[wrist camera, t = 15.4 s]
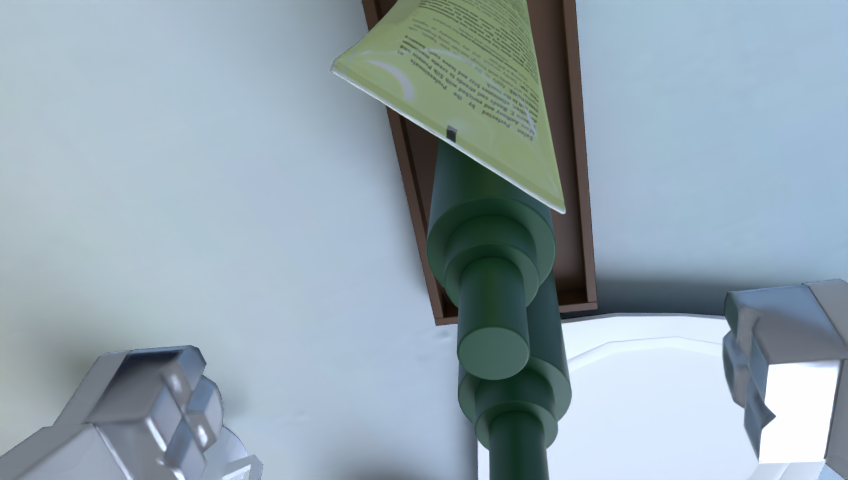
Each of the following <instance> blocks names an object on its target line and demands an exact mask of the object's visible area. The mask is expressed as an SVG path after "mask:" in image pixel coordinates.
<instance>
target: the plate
mask: <svg viewBox="0 0 848 480" xmlns="http://www.w3.org/2000/svg"><path fill="white" fill-rule="evenodd" d="M561 325H562V331H563V338H564V344H565V351H566V357H567V364H568V370H569V377H570V383H571V390H572V399H571V403H570V406H569V409H568V410H567V412H566V414H565V415H564V416H563V417H562V418H561V419H560V420H559V421H558V434H557V437H556V439H555V441H554V442H553V444H552V445H551V446H550V447H549V448H548V449H546V451H547V461H548V471H549V480H817V478H818V476H819V474H820V472H821V470H822V468H823V466H824V464H825V462H826V461H808V462H781V463H759V462H758V460H757V457H756V455H755V453H754V450H753V448H752V445H751V443H750V441H749V438H748V436H747V433H746V431H745V429H744V426H743V423H744V408H742V407H741V406H739V405H738V404H736V403H735V402H733V399H732V397H731V394H730V391H729V389H728V385H727V382H726V378H725V375H724V367H723V359H722V341H723V337H724V336H725V335H726V334H727V333H728V332H729V331H730V330H731V329H730V327H729V325H728V323H727V320H726V318H725V316H714V315H701V314H687V313H610V314H603V315H595V316H587V317H579V318H572V319H564V320H561ZM478 480H489V450H487V449H486V448H485V447H483V445H482V444H481V443H480V442H479V440H478Z"/></svg>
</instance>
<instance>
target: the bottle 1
mask: <svg viewBox="0 0 848 480" xmlns="http://www.w3.org/2000/svg"><path fill="white" fill-rule="evenodd" d="M426 255H427V261H428V264H429V267H430V269H431V271H432V273H433V275H434V276H435V278H436V279H437V280H438V282H439V283H440V284H441V285H442V286H443V287H444V288H445V290H446V293H447V295H448V297H449V298H450V300H451V301H452V302H453V304H454V305H455V306H456V307H458V308H459V311H458V336H457V356H458V360H459V362H460V363H461V365H462V366H463V368H464V369H465V370H466V371H468V372H469V373H470V374H472V375H474V376H476V377H479V378H482V379H487V380H500V379H505V378H508V377H511V376H513V375H515V374H517V373H518V372H520V371H521V370H522V369H523V368H524V367H525V365H526V364H527V362H528V360H529V356H530V345H529V334H528V323H527V312H526V307H527V306H528V305H529V304H530V303H531V302H532V300H533V299H534V297H535V296H536V294H537V292H538V288H539V286H540V285H541V284H542V283H543V282H544V280H545V279H546V278H547V276H548V275H549V273H550V272H551V270H552V267H553V265H554V262H555V258H556V240H555V234H554V228H553V222H552V216H551V211H550V207H548V206H547V205H545V204H544V203H542V202H540V201H539V200H537V199H535V198H534V197H532V196H530V195H529V194H527V193H526V192H524V191H523V190H521V189H520V188H518V187H517V186H515V185H513V184H512V183H510V182H509V181H507V180H506V179H504V178H503V177H501V176H499V175H498V174H496V173H494V172H493V171H491V170H490V169H488V168H486V167H485V166H483V165H481V164H480V163H478V162H477V161H475V160H474V159H472V158H470V157H469V156H467V155H466V154H464V153H463V152H461V151H460V150H458V149H456V148H455V147H453V146H452V145H450V144H449V143H447V142H445V141H444V140H442V139H440V138H439V142H438V150H437V159H436V167H435V176H434V185H433V193H432V202H431V210H430V219H429V227H428V236H427V244H426Z"/></svg>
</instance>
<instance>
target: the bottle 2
mask: <svg viewBox="0 0 848 480" xmlns="http://www.w3.org/2000/svg"><path fill="white" fill-rule="evenodd" d="M526 312H527V323H528V334H529V345H530V356H529V360H528V362H527V364H526V365H525V367H524V368H523V369H522V370H521V371H520V372H518V373H517V374H515V375H513V376H511V377H508V378H505V379H500V380H487V379H482V378H479V377H476V376H474V375H472V374H470V373H469V372H468V371H466V370H465V369H464V368H463V366H462V365H461V363H460V362H459V378H458V401H459V404H460V407H461V409H462V411H463V413H464V414H465V415H466V417H467V418H468V419H469V420H470V421H471V422H473V423H474V424H475V433H476V437H477V438H478V440H479V442H480V443H481V444H482V445H483V447H485V448H486V449H487V450H489V480H549V471H548V461H547V451H546V449H548V448H549V447H550V446H551V445H552V444H553V442H554V441H555V439H556V437H557V434H558V421H559V420H560V419H561V418H562V417H563V416H564V415H565V414H566V412H567V410H568V409H569V406H570V403H571V399H572V390H571V383H570V377H569V370H568V364H567V357H566V351H565V344H564V338H563V331H562V325H561V318H560V312H559V305H558V299H557V292H556V286H555V279H554V273H553V267H552V270H551V272H550V273H549V275H548V276H547V278H546V279H545V280H544V282H543V283H542V284H541V285H540V286H539V288H538V292H537V294H536V296H535V297H534V299H533V300H532V302H531V303H530V304H529V305H528V306H527V307H526Z"/></svg>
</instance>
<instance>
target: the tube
mask: <svg viewBox="0 0 848 480" xmlns="http://www.w3.org/2000/svg"><path fill="white" fill-rule="evenodd" d="M330 71H331V72H332V73H334V74H335V75H337V76H339V77H341V78H342V79H344V80H346V81H347V82H349V83H351V84H352V85H354V86H356V87H357V88H359V89H360V90H362V91H364V92H365V93H367V94H369V95H370V96H372V97H374V98H375V99H377V100H379V101H380V102H382V103H384V104H385V105H387V106H388V107H390V108H391V109H393V110H394V111H396V112H398V113H399V114H401V115H402V116H404V117H406V118H407V119H409V120H410V121H412V122H414V123H415V124H417V125H419V126H420V127H422V128H424V129H425V130H427V131H429V132H430V133H432V134H434V135H435V136H437V137H439V138H440V139H442V140H444V141H445V142H447V143H449V144H450V145H452V146H453V147H455V148H456V149H458V150H460V151H461V152H463V153H464V154H466V155H467V156H469V157H470V158H472V159H474V160H475V161H477V162H478V163H480V164H481V165H483V166H485V167H486V168H488V169H490V170H491V171H493V172H494V173H496V174H498V175H499V176H501V177H503V178H504V179H506V180H507V181H509V182H510V183H512V184H513V185H515V186H517V187H518V188H520V189H521V190H523V191H524V192H526V193H527V194H529V195H530V196H532V197H534V198H535V199H537V200H539V201H540V202H542V203H544V204H545V205H547V206H548V207H550V208H552V209H554V210H556V211H557V212H559V213H561V214H565V213H566V208H565V205H564V198H563V193H562V188H561V183H560V178H559V173H558V168H557V163H556V158H555V153H554V147H553V142H552V137H551V132H550V127H549V122H548V117H547V112H546V107H545V102H544V97H543V91H542V86H541V80H540V75H539V70H538V64H537V59H536V53H535V48H534V43H533V37H532V32H531V26H530V19H529V13H528V7H527V2H526V0H398V1H397V2H396V4H395V5H394V6H393V7H392V8H391V9H390V11H389V12H388V13H387V14H386V15H385V16H384V17H383V18H382V19H381V20H380V21H379V22H378V23H377V24H376V25H375V26H374V27H373V28H372V29H371V30H370V31H369V32H368V33H367V34H366V35H365V36H364V37H363V38H362V39H361V40H360V41H359V42H358V43H357V44H355V45H354V46H353V47H351V48H350V49H349V50H347V51H346V52H344V53H343V54H342V55H340V56H339V57H338V58H336V59H335V60H334V62H333V64H332V66H331V69H330Z"/></svg>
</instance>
